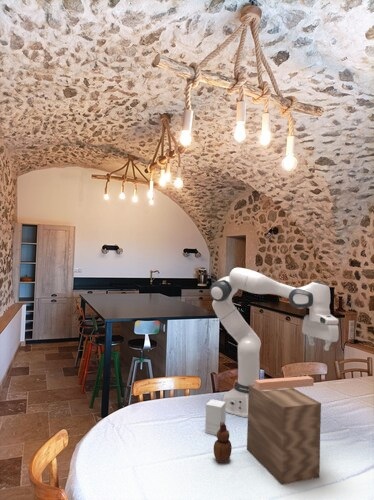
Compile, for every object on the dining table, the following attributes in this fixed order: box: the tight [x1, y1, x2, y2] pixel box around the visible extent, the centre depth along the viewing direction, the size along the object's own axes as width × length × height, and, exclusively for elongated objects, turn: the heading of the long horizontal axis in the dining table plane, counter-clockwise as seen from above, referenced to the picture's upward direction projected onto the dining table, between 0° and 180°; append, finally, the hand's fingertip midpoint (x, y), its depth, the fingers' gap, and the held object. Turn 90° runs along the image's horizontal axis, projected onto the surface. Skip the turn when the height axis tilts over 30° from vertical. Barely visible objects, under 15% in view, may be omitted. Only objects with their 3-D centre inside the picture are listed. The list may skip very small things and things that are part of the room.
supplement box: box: [204, 398, 227, 436], centre depth 158 cm, size 7×7×13 cm
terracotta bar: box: [254, 375, 315, 391], centre depth 143 cm, size 26×4×3 cm, turn 110°
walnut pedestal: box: [246, 384, 322, 485], centre depth 135 cm, size 16×24×26 cm, turn 20°
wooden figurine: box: [213, 422, 233, 463], centre depth 134 cm, size 7×6×15 cm
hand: (318, 347), depth 160 cm, fingers open, 8 cm apart
